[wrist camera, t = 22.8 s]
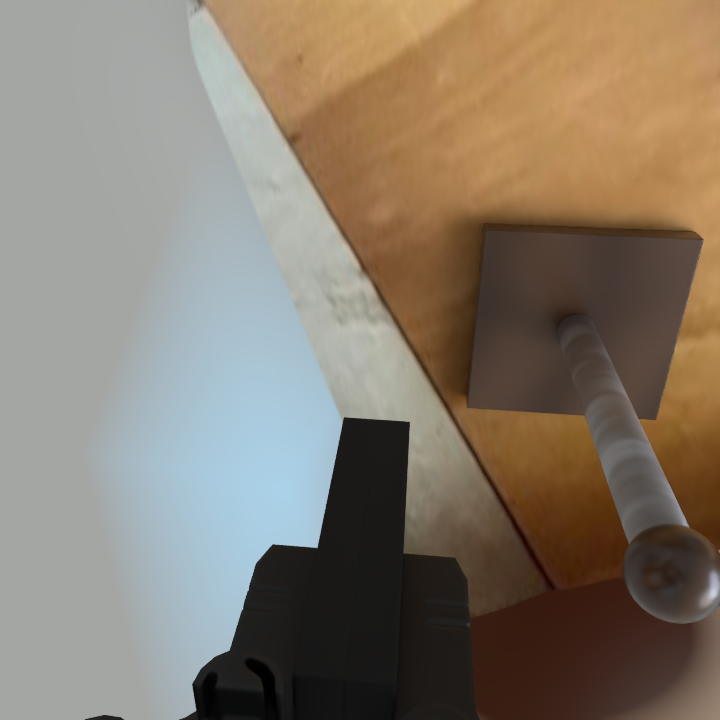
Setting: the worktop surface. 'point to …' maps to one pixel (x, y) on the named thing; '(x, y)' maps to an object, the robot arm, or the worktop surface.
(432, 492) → the worktop surface
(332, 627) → the robot arm
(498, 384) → the paper towel stand
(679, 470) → the worktop surface
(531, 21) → the worktop surface
